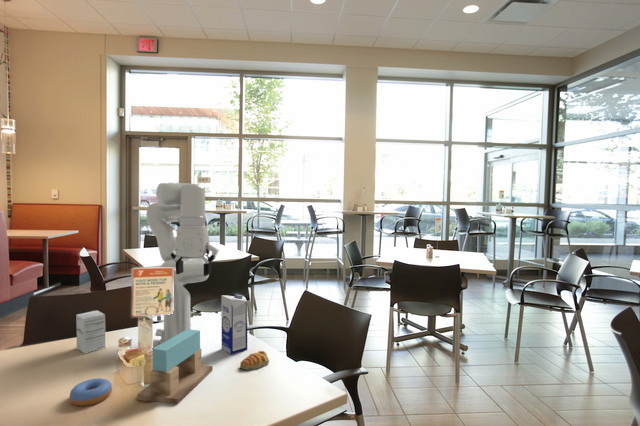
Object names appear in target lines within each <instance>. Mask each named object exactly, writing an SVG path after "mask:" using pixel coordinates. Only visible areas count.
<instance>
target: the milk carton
mask: <svg viewBox="0 0 640 426" xmlns="http://www.w3.org/2000/svg"><path fill="white" fill-rule="evenodd" d="M220 298H221V299H220V301H221V304H220V305H221V350H223V351H224V352H226V354H229V355H235V354H238V353H241V352H245V351H248V300H247V299H244V298H243V295H241V294H234V296H232V295H221V297H220Z"/></svg>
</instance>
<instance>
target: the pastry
mask: <svg viewBox="0 0 640 426" xmlns="http://www.w3.org/2000/svg"><path fill="white" fill-rule="evenodd" d="M269 363H270V359H269V357H268V354H267V353H266V351H264V350H259V351H258V352H254V353H250V354H249V355H247V356H246V357H244V359H243V360H242V361H240V365H239V368H240V369H242V370H246V371H249V370H257V369H259V368H262V367H264V366H265V367H266V366H267V365H268V364H269Z"/></svg>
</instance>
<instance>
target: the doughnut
mask: <svg viewBox="0 0 640 426" xmlns="http://www.w3.org/2000/svg"><path fill="white" fill-rule="evenodd" d="M112 389H113V386H112V383H111V381H110V380H109V379H106V378H103V377H102V378H101V377H100V378H99V377H96V378H90V379H86V380H84V381H81V382H79V383H77V384H76V385H74V387H72V389H70V392H69V400H70V402H71V403H72V405H74V406H77V405H78V407H85V406H93V405H94V404H95V405H96V404H98V403H101V402H103V401H104V400H106V399H107V398H108V397H110V395H111V393H112Z"/></svg>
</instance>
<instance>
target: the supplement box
mask: <svg viewBox="0 0 640 426" xmlns="http://www.w3.org/2000/svg"><path fill="white" fill-rule="evenodd" d="M75 319H76V321H75V322H76V349H77V348H78V349H77V350H79V349H80V350H81V351H80V350H79V351H80V352H82V354H84V353H86V354H88V353H87V352H89V353H92V352H91V351H93V352H96V351H95V350H97V351H100V350H103V348H104V349H106V348H107V347H106V346H107V345H106V314H105V313H103V312H101V311H99V310H91V311H87V312H83V313H78V314H76V318H75Z"/></svg>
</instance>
